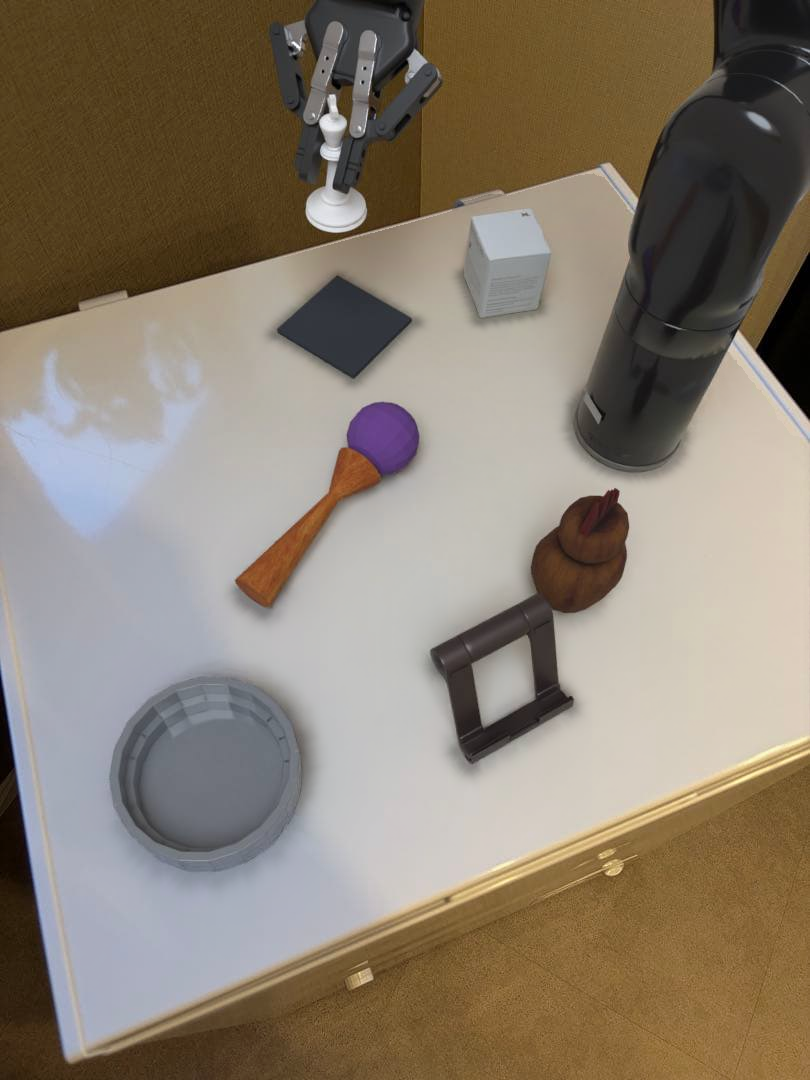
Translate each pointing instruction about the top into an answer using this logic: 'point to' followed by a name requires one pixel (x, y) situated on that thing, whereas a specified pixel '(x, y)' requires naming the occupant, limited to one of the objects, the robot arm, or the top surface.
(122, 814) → the basin
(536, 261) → the product box
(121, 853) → the top surface
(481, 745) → the tablet stand
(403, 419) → the kendama
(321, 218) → the chess piece
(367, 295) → the mat
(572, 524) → the brown gourd
